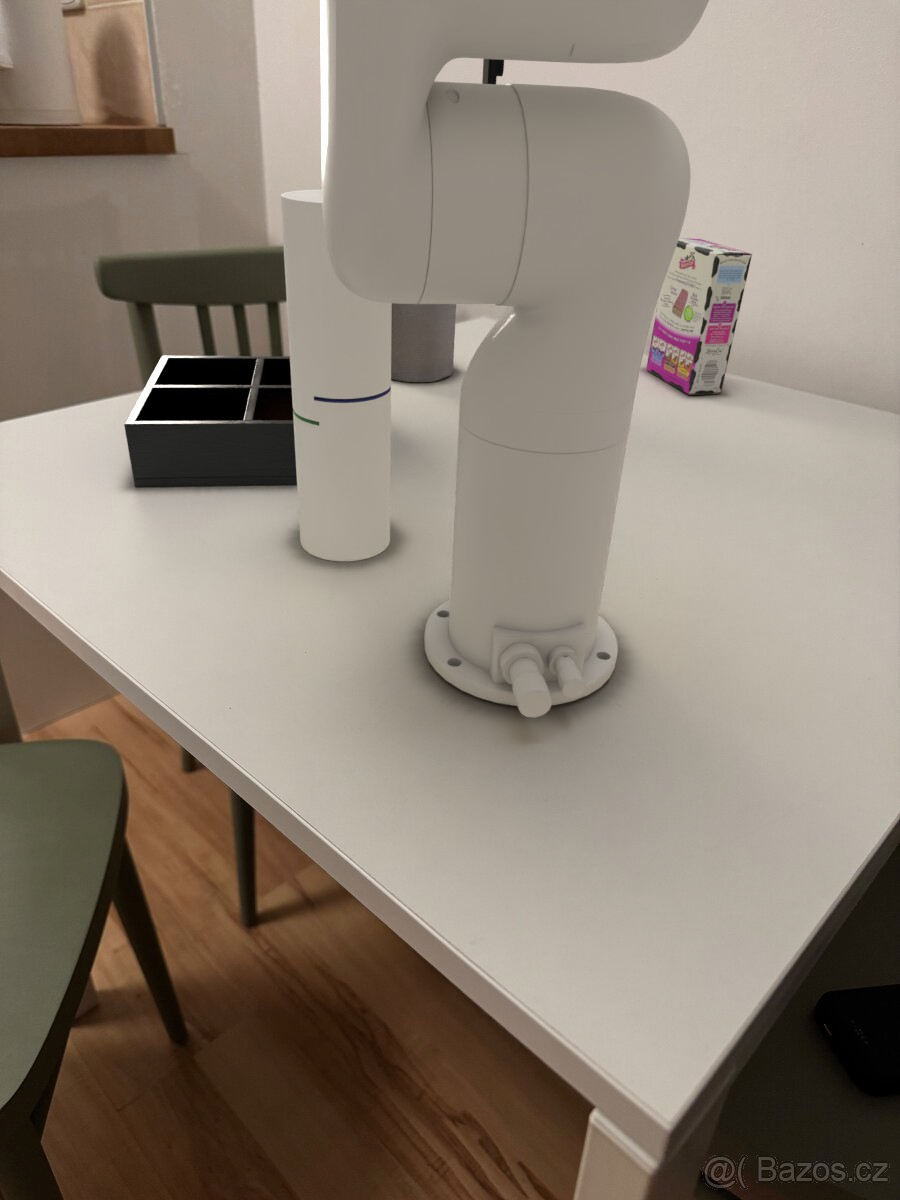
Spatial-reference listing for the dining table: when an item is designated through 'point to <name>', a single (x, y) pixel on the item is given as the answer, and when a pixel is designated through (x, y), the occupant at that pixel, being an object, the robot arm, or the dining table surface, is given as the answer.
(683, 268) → the candy bar box
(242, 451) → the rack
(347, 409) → the cylindrical container
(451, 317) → the pillar candle
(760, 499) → the dining table surface
